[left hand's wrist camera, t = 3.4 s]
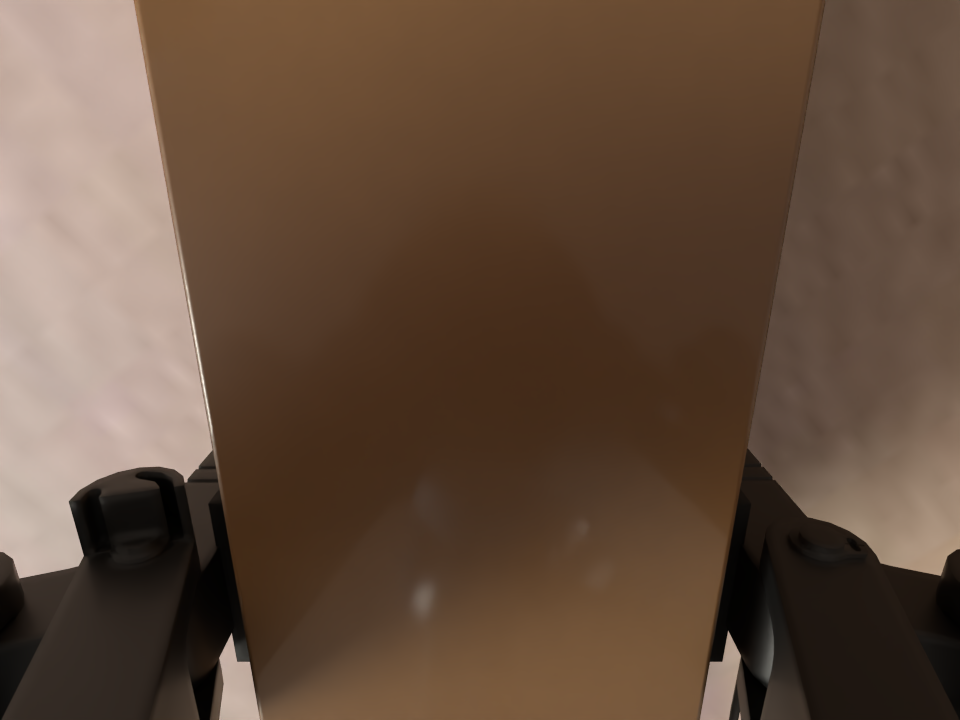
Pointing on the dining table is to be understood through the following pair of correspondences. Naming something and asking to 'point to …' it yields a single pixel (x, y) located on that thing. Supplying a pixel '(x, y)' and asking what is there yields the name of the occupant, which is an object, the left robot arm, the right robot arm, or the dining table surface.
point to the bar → (479, 333)
